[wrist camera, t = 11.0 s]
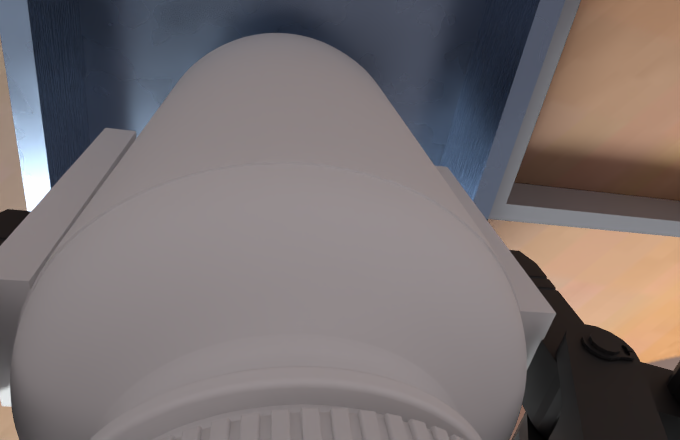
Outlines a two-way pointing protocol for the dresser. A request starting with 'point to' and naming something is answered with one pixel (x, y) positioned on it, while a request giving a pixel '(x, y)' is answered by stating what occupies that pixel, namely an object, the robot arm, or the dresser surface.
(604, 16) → the dresser surface
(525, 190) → the frame
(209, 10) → the bin
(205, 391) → the pill bottle
